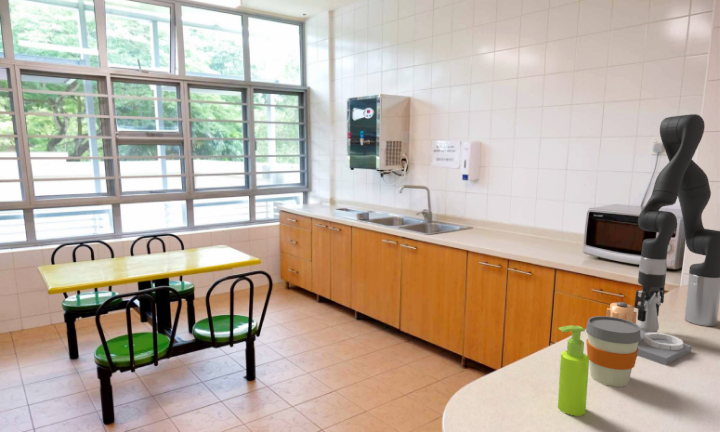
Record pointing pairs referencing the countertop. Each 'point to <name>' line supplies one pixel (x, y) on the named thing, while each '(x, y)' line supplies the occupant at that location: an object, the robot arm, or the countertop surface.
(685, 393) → the countertop surface
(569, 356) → the soap dispenser
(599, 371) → the reusable coffee cup
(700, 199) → the robot arm
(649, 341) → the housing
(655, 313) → the salt shaker
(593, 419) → the countertop surface
